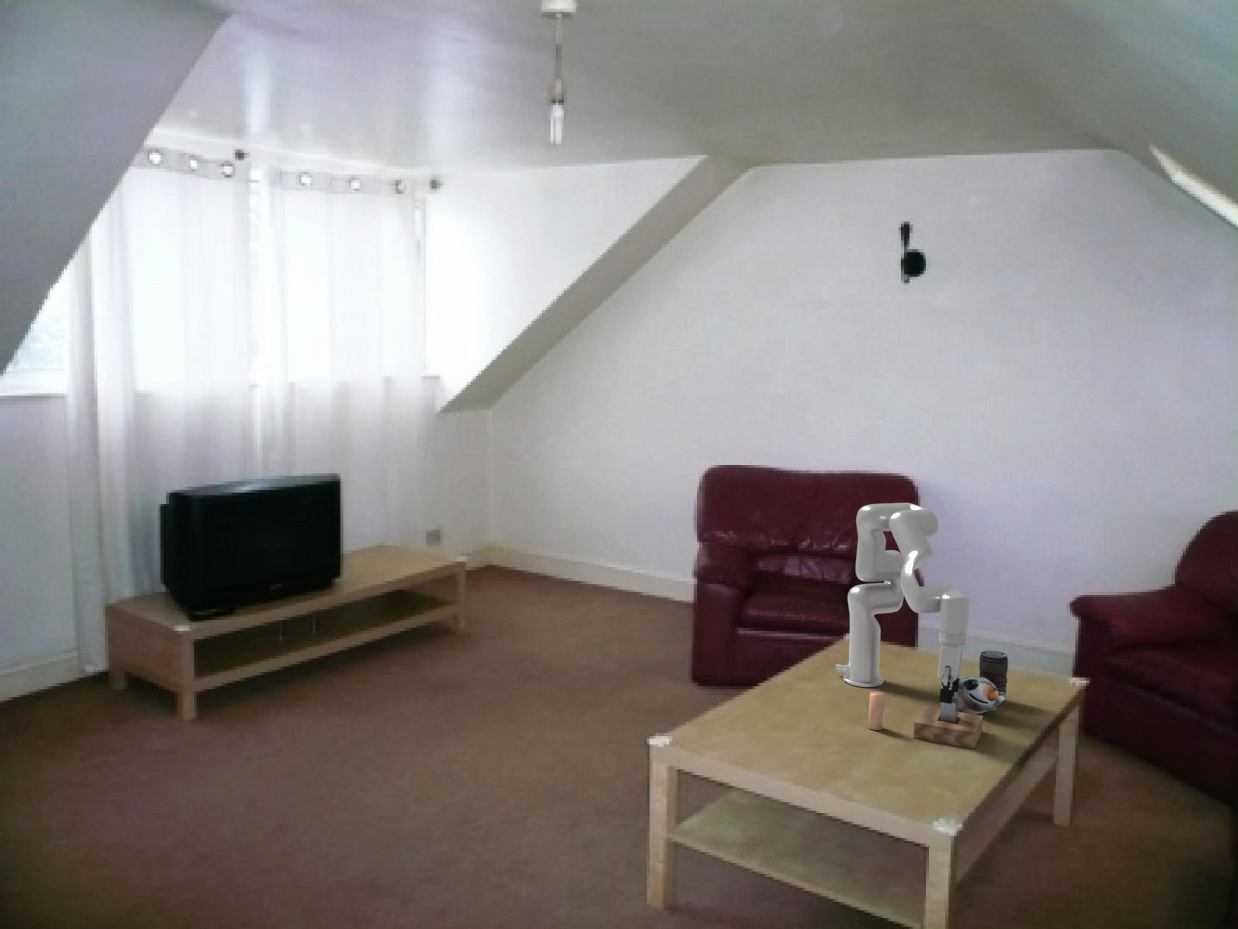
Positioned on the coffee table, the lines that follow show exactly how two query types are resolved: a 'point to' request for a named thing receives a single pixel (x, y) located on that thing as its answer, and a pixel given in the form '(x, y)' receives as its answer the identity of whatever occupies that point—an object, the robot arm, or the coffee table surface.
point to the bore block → (948, 728)
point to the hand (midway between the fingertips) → (949, 696)
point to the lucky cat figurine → (977, 695)
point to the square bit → (949, 711)
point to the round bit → (876, 710)
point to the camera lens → (994, 668)
